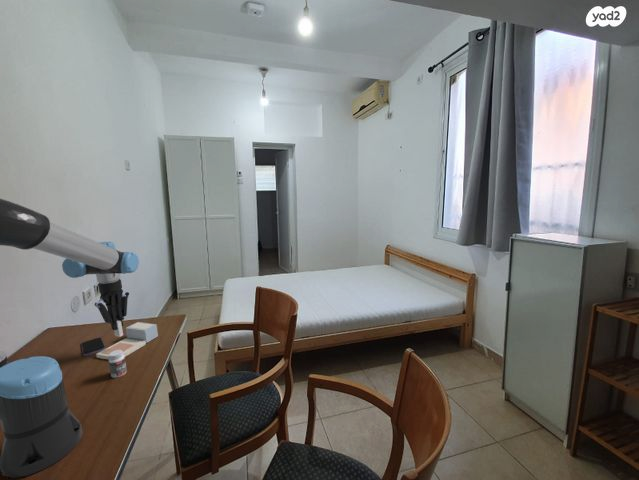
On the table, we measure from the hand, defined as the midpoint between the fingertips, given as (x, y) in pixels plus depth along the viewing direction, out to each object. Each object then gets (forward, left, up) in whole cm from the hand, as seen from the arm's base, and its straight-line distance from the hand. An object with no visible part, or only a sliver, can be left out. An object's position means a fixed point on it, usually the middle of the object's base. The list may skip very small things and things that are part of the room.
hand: (119, 335), depth 119 cm
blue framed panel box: (+10, 0, -7) cm, 12 cm away
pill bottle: (-12, -14, -7) cm, 20 cm away
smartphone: (0, +16, -7) cm, 17 cm away
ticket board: (0, 0, -7) cm, 7 cm away
